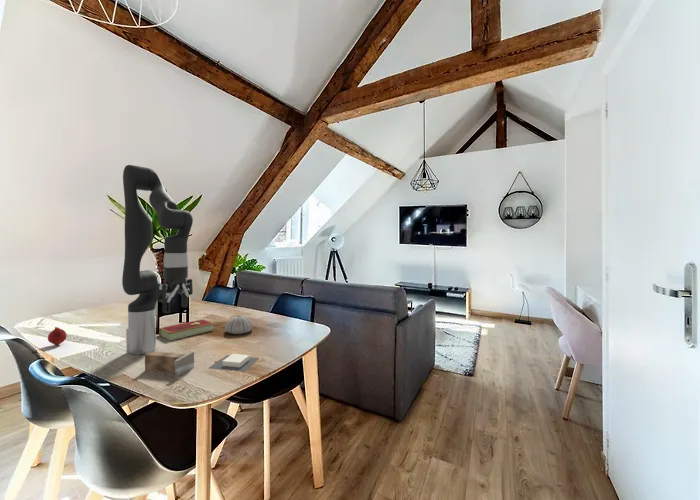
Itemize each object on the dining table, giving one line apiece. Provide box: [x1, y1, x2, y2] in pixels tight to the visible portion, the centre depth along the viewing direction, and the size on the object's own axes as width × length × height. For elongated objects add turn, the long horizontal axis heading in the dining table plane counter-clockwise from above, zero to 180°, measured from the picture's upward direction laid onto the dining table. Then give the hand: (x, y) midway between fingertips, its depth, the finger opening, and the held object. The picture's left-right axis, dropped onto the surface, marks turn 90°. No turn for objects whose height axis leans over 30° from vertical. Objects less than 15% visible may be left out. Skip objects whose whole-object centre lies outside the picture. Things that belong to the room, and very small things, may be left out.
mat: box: [208, 354, 260, 373], centre depth 113 cm, size 14×12×1 cm
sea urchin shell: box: [224, 314, 254, 335], centre depth 151 cm, size 13×14×8 cm
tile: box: [222, 353, 251, 367], centre depth 113 cm, size 2×7×7 cm
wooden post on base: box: [144, 350, 195, 378], centre depth 106 cm, size 15×8×6 cm, turn 80°
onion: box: [47, 326, 68, 346], centre depth 129 cm, size 6×6×8 cm
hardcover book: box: [158, 318, 215, 341], centre depth 148 cm, size 12×21×4 cm, turn 142°
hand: (175, 309), depth 108 cm, fingers open, 8 cm apart
